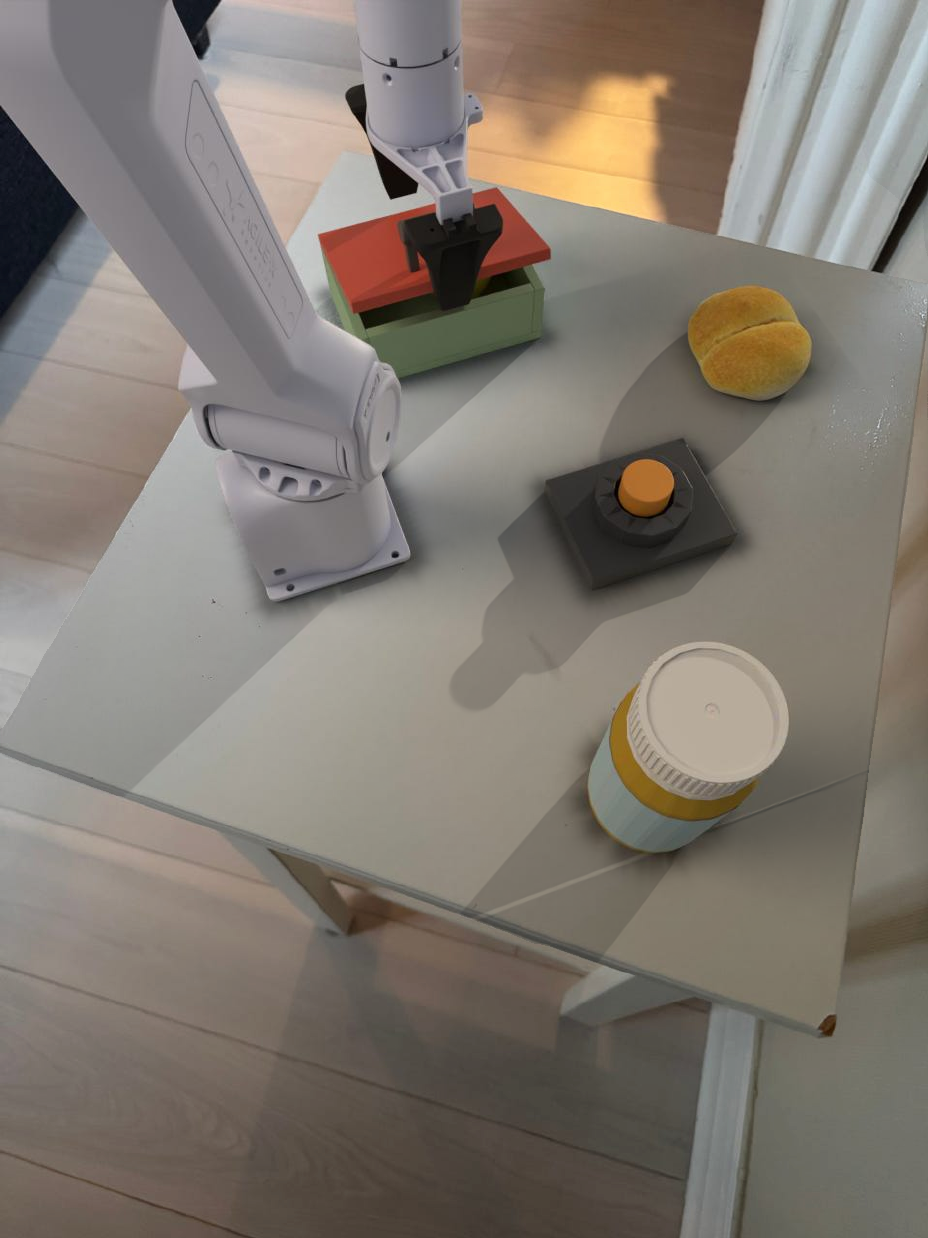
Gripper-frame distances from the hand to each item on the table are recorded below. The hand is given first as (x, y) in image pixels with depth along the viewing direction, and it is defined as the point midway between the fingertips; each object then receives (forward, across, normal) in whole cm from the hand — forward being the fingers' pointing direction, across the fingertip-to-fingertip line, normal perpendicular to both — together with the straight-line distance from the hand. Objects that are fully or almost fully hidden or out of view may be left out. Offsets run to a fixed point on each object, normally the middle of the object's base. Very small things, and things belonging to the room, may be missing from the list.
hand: (426, 245), depth 58 cm
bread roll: (+6, -12, -20) cm, 24 cm away
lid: (0, -1, 0) cm, 1 cm away
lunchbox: (+6, 0, 0) cm, 6 cm away
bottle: (+7, -39, 0) cm, 40 cm away
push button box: (+6, -22, -7) cm, 24 cm away
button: (+4, -22, -7) cm, 23 cm away
